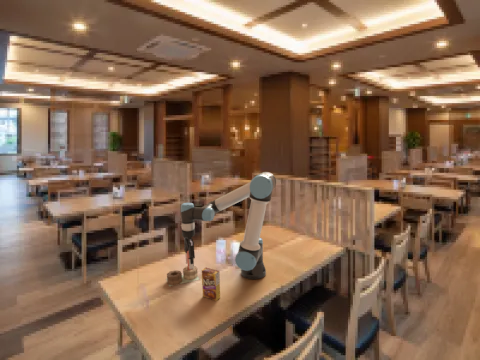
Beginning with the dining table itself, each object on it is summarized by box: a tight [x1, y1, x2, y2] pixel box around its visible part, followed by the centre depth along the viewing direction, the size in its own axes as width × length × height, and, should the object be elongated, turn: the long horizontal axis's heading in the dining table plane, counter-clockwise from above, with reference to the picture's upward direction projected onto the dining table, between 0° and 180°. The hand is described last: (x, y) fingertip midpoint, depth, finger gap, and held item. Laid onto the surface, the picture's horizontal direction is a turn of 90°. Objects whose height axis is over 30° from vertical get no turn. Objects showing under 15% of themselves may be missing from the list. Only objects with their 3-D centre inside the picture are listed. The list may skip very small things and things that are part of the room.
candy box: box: [201, 267, 221, 302], centre depth 154 cm, size 9×4×15 cm, turn 61°
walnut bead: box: [166, 270, 183, 286], centre depth 171 cm, size 8×8×5 cm
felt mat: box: [165, 274, 200, 287], centre depth 174 cm, size 18×10×1 cm, turn 114°
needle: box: [187, 251, 192, 270], centre depth 176 cm, size 3×3×16 cm
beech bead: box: [182, 265, 199, 280], centre depth 177 cm, size 8×8×5 cm
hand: (190, 265), depth 176 cm, fingers open, 7 cm apart
